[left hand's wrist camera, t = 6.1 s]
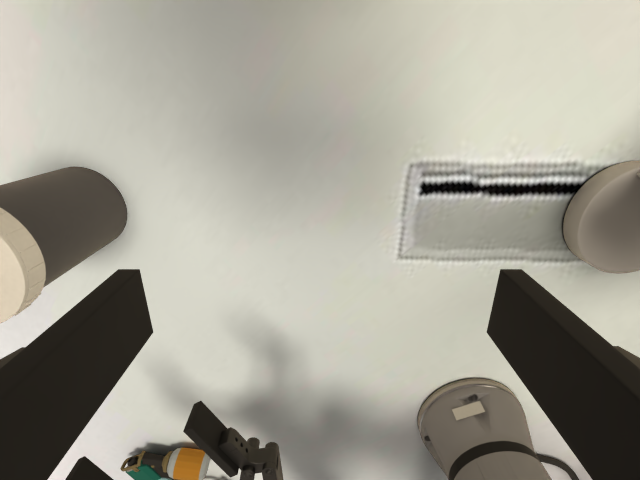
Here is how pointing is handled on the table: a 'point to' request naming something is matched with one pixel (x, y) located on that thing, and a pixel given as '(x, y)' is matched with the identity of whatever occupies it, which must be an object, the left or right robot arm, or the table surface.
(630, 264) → the bust sculpture
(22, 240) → the lid
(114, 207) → the jar
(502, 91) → the table surface
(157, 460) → the spray gun
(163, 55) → the table surface
